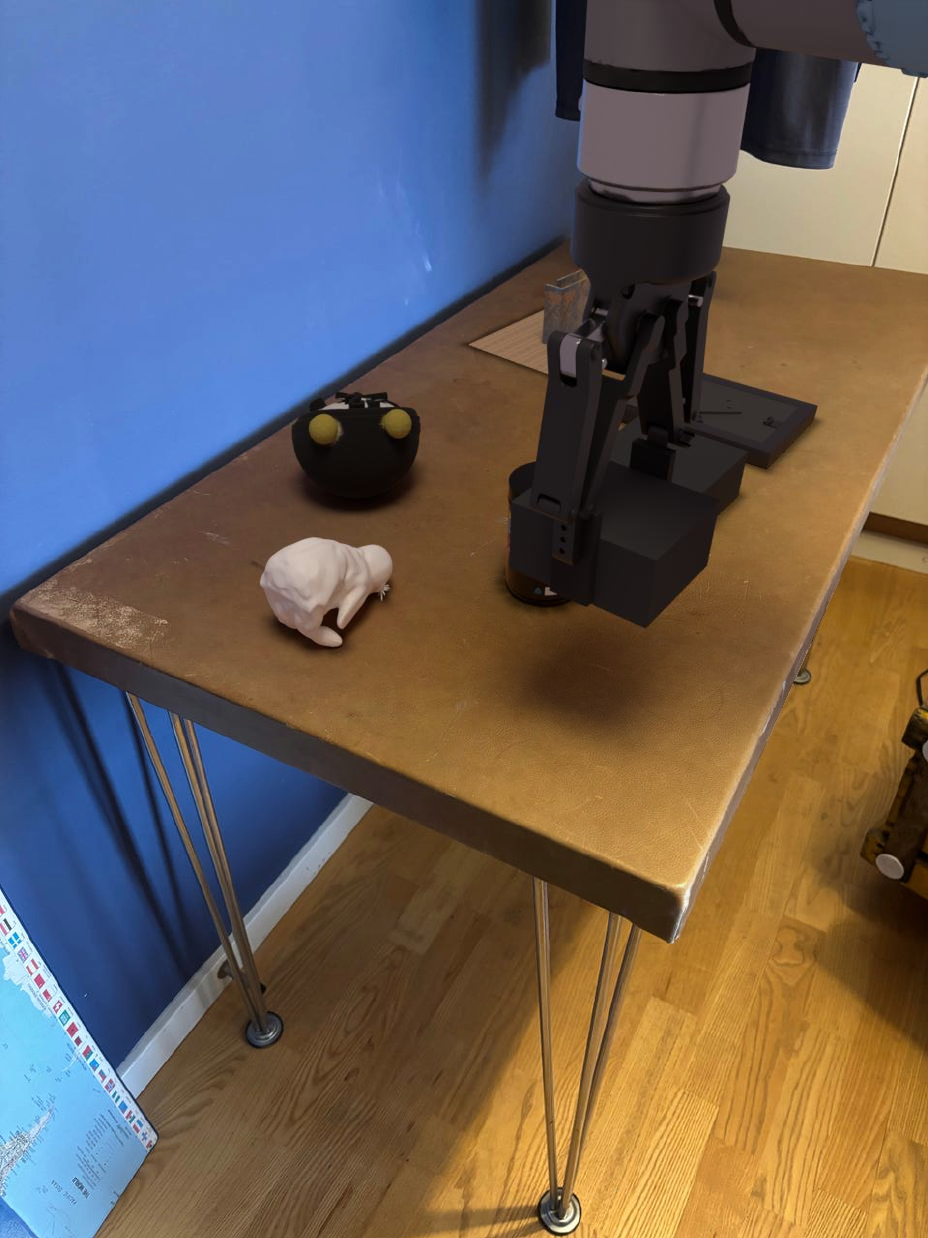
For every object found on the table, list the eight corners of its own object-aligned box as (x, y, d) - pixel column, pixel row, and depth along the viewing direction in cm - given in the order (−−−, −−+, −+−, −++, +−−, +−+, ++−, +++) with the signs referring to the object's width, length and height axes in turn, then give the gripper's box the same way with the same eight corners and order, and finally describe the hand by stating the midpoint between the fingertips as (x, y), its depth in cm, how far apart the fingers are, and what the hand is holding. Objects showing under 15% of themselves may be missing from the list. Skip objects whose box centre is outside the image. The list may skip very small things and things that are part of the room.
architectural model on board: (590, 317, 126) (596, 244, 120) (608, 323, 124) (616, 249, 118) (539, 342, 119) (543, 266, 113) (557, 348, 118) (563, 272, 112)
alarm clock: (424, 490, 98) (473, 390, 87) (337, 560, 89) (378, 459, 78) (344, 422, 100) (381, 315, 88) (250, 484, 91) (277, 373, 79)
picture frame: (617, 420, 103) (766, 469, 95) (619, 401, 101) (771, 450, 93) (672, 379, 111) (814, 420, 103) (675, 361, 110) (819, 402, 101)
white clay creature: (248, 545, 69) (358, 491, 77) (256, 635, 74) (359, 576, 82) (306, 576, 66) (414, 517, 74) (311, 668, 71) (412, 604, 79)
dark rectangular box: (738, 495, 91) (748, 451, 87) (680, 550, 83) (689, 504, 80) (633, 457, 96) (639, 414, 93) (571, 506, 89) (575, 461, 86)
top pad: (707, 565, 59) (721, 499, 55) (645, 629, 54) (656, 560, 51) (576, 513, 63) (581, 449, 60) (508, 567, 59) (510, 501, 55)
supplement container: (557, 554, 83) (565, 453, 76) (596, 595, 78) (608, 492, 72) (491, 573, 81) (493, 471, 74) (527, 617, 76) (533, 512, 69)
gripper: (684, 131, 52) (638, 477, 66) (458, 217, 39) (461, 622, 54) (811, 150, 48) (733, 512, 63) (607, 251, 36) (568, 675, 50)
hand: (608, 562), depth 58 cm, fingers closed on top pad, 8 cm apart
